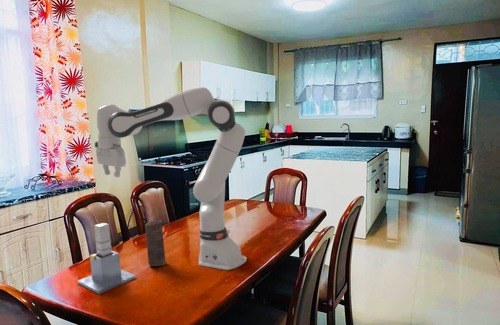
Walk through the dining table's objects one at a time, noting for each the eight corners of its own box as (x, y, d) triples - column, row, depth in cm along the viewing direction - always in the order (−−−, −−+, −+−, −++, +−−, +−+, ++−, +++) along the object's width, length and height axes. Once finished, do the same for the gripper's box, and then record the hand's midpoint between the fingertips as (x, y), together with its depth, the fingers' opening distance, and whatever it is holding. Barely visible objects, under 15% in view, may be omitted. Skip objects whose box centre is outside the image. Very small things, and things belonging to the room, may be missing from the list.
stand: (135, 277, 143) (133, 248, 142) (99, 294, 131) (95, 262, 129) (114, 269, 153) (111, 241, 152) (77, 283, 141) (74, 254, 139)
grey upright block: (156, 269, 150) (152, 224, 148) (144, 266, 154) (140, 222, 152) (169, 263, 157) (165, 219, 154) (157, 260, 161) (154, 218, 158)
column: (114, 276, 142) (109, 224, 139) (104, 280, 139) (99, 227, 136) (108, 273, 145) (103, 222, 142) (99, 277, 141) (93, 225, 139)
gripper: (128, 144, 144) (130, 177, 146) (106, 142, 158) (109, 172, 160) (113, 145, 140) (116, 179, 142) (92, 143, 154) (95, 174, 156)
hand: (112, 175), depth 151 cm, fingers open, 8 cm apart
